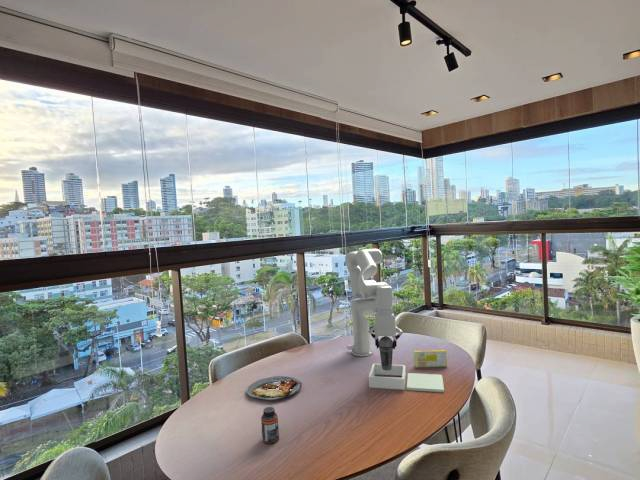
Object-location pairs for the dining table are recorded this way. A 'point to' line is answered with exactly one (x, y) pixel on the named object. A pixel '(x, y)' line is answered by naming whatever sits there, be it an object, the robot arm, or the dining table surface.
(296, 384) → the food plate
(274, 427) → the supplement bottle
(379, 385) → the bin
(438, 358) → the candy box
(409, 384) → the pad
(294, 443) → the dining table surface
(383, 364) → the beverage cup
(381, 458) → the dining table surface
